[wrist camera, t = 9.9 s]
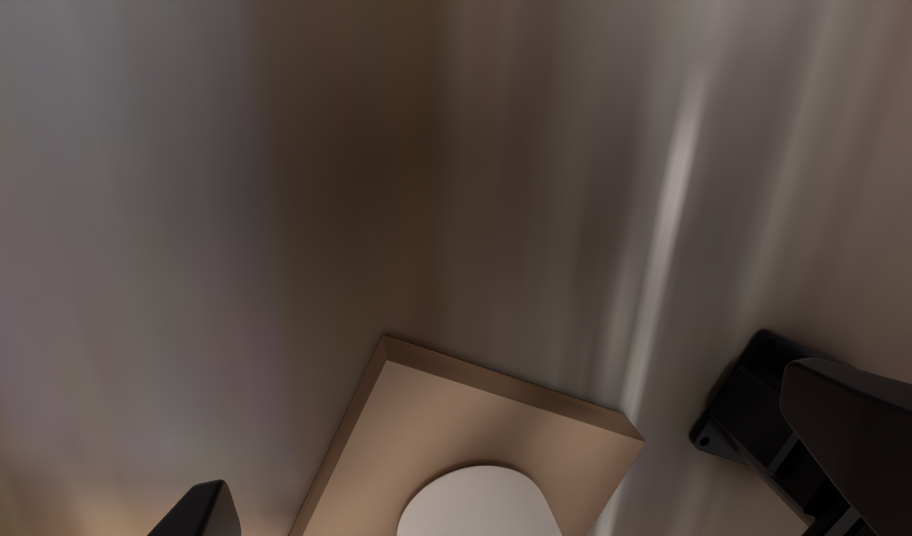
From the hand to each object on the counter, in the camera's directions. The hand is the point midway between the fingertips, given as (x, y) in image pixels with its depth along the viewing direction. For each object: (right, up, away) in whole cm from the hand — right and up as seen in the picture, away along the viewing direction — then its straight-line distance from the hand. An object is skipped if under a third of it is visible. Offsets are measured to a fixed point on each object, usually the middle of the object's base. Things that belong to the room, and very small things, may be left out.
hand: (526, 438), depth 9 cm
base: (-1, -7, +17) cm, 18 cm away
